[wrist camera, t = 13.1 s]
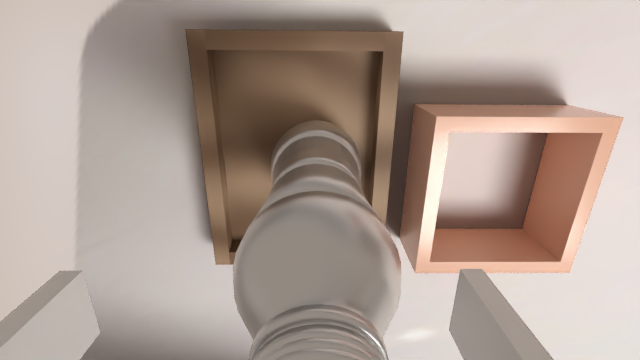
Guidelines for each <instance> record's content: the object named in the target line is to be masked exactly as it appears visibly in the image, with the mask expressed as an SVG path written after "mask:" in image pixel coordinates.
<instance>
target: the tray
mask: <svg viewBox="0 0 640 360" xmlns="http://www.w3.org/2000/svg"><path fill="white" fill-rule="evenodd" d="M185 30H186V38H187V45H188V53H189V61H190V69H191V76H192V84H193V92H194V100H195V107H196V115H197V123H198V131H199V138H200V146H201V154H202V162H203V169H204V177H205V185H206V193H207V201H208V208H209V216H210V224H211V232H212V239H213V247H214V255H215V263H216V264H234V259H235V255H236V251H237V249H238V247H239V245H240V243H241V241H242V239H243V237H244V235H245V233H246V231H247V229H248V227H249V225H250V224H251V223H252V221H253V220H254V218H255V217H256V215H257V214H258V212H259V211H260V209H261V208H262V207H263V205H264V204H265V202H266V200H267V198H268V196H269V193H270V191H271V186H272V180H271V158H272V153H273V150H274V148H275V146H276V144H277V142H278V141H279V139H280V138H281V137H282V136H283V135H284V134H285V133H286V132H287V131H288V130H289V129H291V128H293V127H294V126H296V125H298V124H300V123H303V122H306V121H311V120H321V121H326V122H329V123H332V124H334V125H336V126H338V127H339V128H341V129H342V130H344V131H345V132H346V133H347V134H348V135H349V136H350V137H351V138H352V139H353V141H354V142H355V144H356V146H357V148H358V150H359V154H360V157H361V181H360V182H361V188H362V190H363V193H364V195H365V197H366V199H367V201H368V203H369V204H370V205H371V207H372V208H373V210H374V211H375V212H376V214H377V215H378V216H379V218H380V219H381V221H382V222H383V223H384V225H385V226H386V215H387V204H388V194H389V183H390V172H391V161H392V150H393V139H394V129H395V118H396V107H397V96H398V85H399V74H400V64H401V53H402V42H403V32H399V31H297V30H194V29H185Z"/></svg>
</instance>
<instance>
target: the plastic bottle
mask: <svg viewBox="0 0 640 360" xmlns="http://www.w3.org/2000/svg"><path fill="white" fill-rule="evenodd" d="M271 180H272V186H271V191H270V193H269V196H268V198H267V200H266V202H265V204H264V205H263V207H262V208H261V209H260V211H259V212H258V214H257V215H256V217H255V218H254V220H253V221H252V223H251V224H250V225H249V227H248V229H247V231H246V233H245V235H244V237H243V239H242V241H241V243H240V245H239V247H238V249H237V251H236V255H235V259H234V264H233V284H234V297H235V301H236V305H237V309H238V312H239V314H240V316H241V318H242V320H243V322H244V324H245V325H246V327H247V329H248V331H249V333H250V334H251V336H252V338H253V339H254V340H253V343H252V347H251V351H250V355H249V360H388V355H387V351H386V347H385V344H384V341H383V338H382V337H383V336H384V334H385V332H386V330H387V328H388V326H389V324H390V322H391V320H392V318H393V316H394V314H395V312H396V310H397V307H398V303H399V298H400V292H401V261H400V257H399V254H398V250H397V247H396V245H395V244H394V242H393V240H392V238H391V236H390V234H389V232H388V230H387V228H386V227H385V225H384V223H383V222H382V221H381V219H380V218H379V216H378V215H377V214H376V212H375V211H374V210H373V208H372V207H371V205H370V204H369V203H368V201H367V199H366V197H365V195H364V193H363V190H362V188H361V182H360V181H361V157H360V154H359V150H358V148H357V146H356V144H355V142H354V141H353V139H352V138H351V137H350V136H349V135H348V134H347V133H346V132H345V131H344V130H342V129H341V128H339V127H338V126H336V125H334V124H332V123H329V122H326V121H321V120H311V121H306V122H303V123H300V124H298V125H296V126H294V127H293V128H291V129H289V130H288V131H287V132H286V133H285V134H284V135H283V136H282V137H281V138H280V139H279V141H278V142H277V144H276V146H275V148H274V150H273V153H272V158H271Z"/></svg>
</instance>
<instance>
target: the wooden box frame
mask: <svg viewBox="0 0 640 360" xmlns="http://www.w3.org/2000/svg"><path fill="white" fill-rule="evenodd" d="M622 120H623V117H619V116H614V115H610V114H606V113H601V112H597V111H592V110H588V109H584V108H579V107H575V106H570V105H490V104H415V106H414V115H413V124H412V133H411V141H410V150H409V159H408V168H407V177H406V186H405V195H404V204H403V213H402V222H401V231H400V240H401V242H402V245H403V247H404V249H405V251H406V254H407V256H408V258H409V260H410V263H411V265H412V267H413V269H414V272H415V273H460V269H482V270H483V271H484V272H485V273H570V270H571V267H572V265H573V262H574V259H575V256H576V253H577V250H578V247H579V244H580V241H581V239H582V236H583V233H584V230H585V227H586V224H587V221H588V218H589V215H590V213H591V210H592V207H593V204H594V201H595V198H596V195H597V192H598V189H599V187H600V184H601V181H602V178H603V175H604V172H605V169H606V166H607V163H608V161H609V158H610V155H611V152H612V149H613V146H614V143H615V140H616V137H617V135H618V132H619V129H620V126H621V123H622ZM450 132H534V133H548V134H547V138H546V142H545V146H544V149H543V153H542V157H541V161H540V164H539V168H538V172H537V176H536V179H535V183H534V187H533V191H532V194H531V198H530V202H529V206H528V209H527V213H526V217H525V221H524V224H523V228H522V229H435V225H436V219H437V212H438V206H439V199H440V193H441V187H442V180H443V174H444V167H445V161H446V155H447V148H448V142H449V135H450Z"/></svg>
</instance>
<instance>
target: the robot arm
mask: <svg viewBox="0 0 640 360" xmlns="http://www.w3.org/2000/svg"><path fill="white" fill-rule="evenodd" d="M449 331H450V333H451V335H452V337H453V339H454V341H455V343H456V345H457V347H458V349H459V351H460V353H461V355H462V357H463V359H464V360H553V358H552V357H551V356H550V355H549V353H548V352H547V351H546V350H545V348H544V347H543V346H542V344H541V343H540V342H539V341H538V339H537V338H536V337H535V336H534V334H533V333H532V332H531V330H530V329H529V328H528V327H527V325H526V324H525V323H524V322H523V320H522V319H521V318H520V317H519V315H518V314H517V313H516V311H515V310H514V309H513V308H512V306H511V305H510V304H509V303H508V301H507V300H506V299H505V297H504V296H503V295H502V294H501V292H500V291H499V290H498V289H497V287H496V286H495V285H494V284H493V282H492V281H491V280H490V278H489V277H488V276H487V275H486V273H485V272H484V271H483V270H482V269H460V274H459V279H458V284H457V290H456V295H455V300H454V306H453V311H452V316H451V322H450V327H449ZM99 334H100V329H99V326H98V323H97V319H96V316H95V312H94V309H93V305H92V302H91V298H90V295H89V292H88V288H87V285H86V281H85V278H84V274H83V271H59V272H58V273H57V274H56V275H54V276H53V277H52V278H51V279H50V280H49V281H47V282H46V283H45V284H44V285H43V286H42V287H40V288H39V289H38V290H37V291H36V292H35V293H33V294H32V295H31V296H30V297H29V298H28V299H26V300H25V301H24V302H23V303H22V304H21V305H20V306H18V307H17V308H16V309H15V310H14V311H12V312H11V313H10V314H9V315H8V316H7V317H6V318H4V319H3V320H2V321H1V322H0V360H80V359H81V358H82V356H83V355H84V354H85V352H86V351H87V350H88V348H89V347H90V346H91V345H92V343H93V342H94V341H95V339H96V338H97V337H98V335H99Z"/></svg>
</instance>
